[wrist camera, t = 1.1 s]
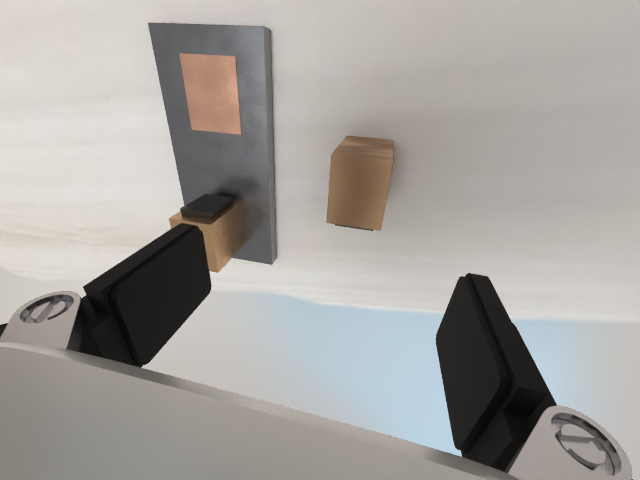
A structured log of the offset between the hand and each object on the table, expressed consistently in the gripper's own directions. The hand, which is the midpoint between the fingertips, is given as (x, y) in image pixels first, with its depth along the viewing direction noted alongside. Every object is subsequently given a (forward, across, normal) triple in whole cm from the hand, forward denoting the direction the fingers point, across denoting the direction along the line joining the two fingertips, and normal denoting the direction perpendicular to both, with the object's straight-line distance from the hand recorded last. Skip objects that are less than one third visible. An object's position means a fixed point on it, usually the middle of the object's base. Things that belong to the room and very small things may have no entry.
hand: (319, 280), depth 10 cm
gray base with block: (+18, +14, +2) cm, 23 cm away
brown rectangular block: (+18, 0, 0) cm, 18 cm away
